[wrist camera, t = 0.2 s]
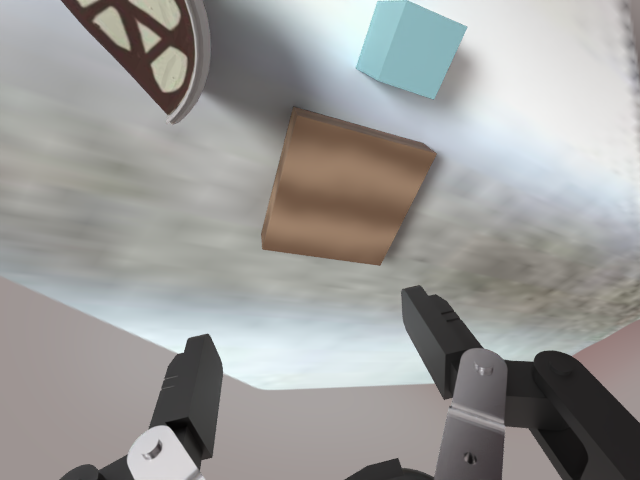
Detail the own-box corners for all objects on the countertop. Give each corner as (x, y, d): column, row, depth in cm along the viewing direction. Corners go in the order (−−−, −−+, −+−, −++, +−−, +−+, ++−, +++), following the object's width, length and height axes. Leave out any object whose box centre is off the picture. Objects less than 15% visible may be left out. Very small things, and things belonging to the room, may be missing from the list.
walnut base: (293, 106, 30) (297, 115, 27) (423, 143, 34) (436, 153, 32) (261, 233, 37) (262, 249, 34) (372, 250, 41) (380, 265, 39)
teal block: (377, 1, 26) (406, 0, 22) (429, 23, 28) (467, 26, 23) (355, 68, 29) (377, 80, 24) (404, 84, 31) (434, 99, 26)
